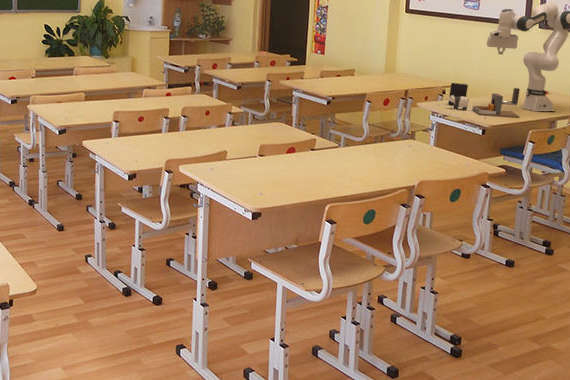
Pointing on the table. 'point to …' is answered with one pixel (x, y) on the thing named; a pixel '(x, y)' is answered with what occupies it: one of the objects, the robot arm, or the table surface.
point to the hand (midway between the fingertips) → (500, 54)
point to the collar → (490, 107)
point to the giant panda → (459, 102)
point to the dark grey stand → (497, 111)
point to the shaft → (513, 98)
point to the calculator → (458, 91)
